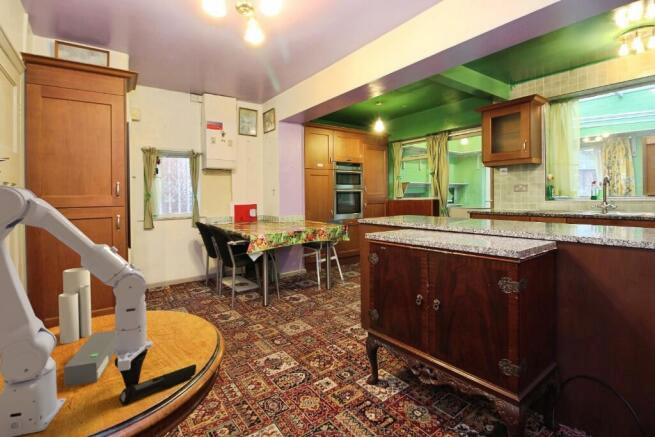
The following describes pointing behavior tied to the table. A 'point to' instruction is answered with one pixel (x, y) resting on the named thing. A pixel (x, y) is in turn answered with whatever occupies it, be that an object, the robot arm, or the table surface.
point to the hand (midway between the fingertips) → (132, 386)
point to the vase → (75, 305)
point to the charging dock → (90, 359)
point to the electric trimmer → (156, 384)
